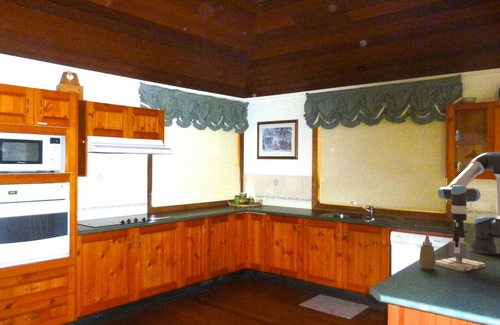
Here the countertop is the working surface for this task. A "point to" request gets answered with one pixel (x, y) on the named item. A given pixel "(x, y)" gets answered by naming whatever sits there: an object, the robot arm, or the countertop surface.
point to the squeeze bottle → (427, 255)
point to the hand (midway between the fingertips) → (459, 251)
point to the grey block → (463, 250)
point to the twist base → (459, 264)
